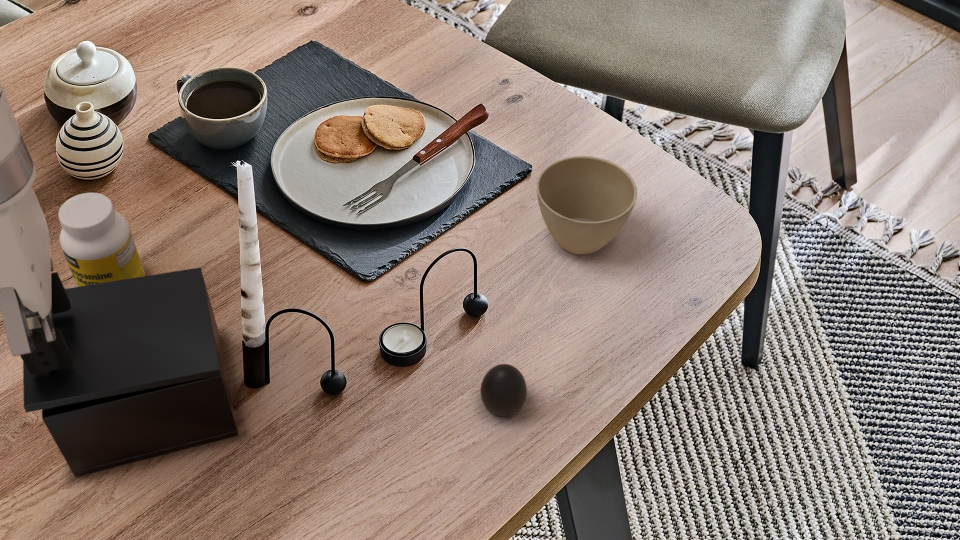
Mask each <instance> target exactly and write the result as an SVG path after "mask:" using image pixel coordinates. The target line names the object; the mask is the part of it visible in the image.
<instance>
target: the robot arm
mask: <svg viewBox="0 0 960 540" xmlns="http://www.w3.org/2000/svg"><path fill="white" fill-rule="evenodd" d="M36 176H37V167H36V164H35V161H34V159H33V157H32V154H31V152H30V149H29V147H28V145H27V142H26V139H25V138H24V135H23V133H22V130H21V128H20V125H19V123H18V121H17V118H16V116H15V113H14V111H13V108H12V106H11V104H10V101H9V98H8V97H7V95H6V91H5V89H4V86H3V84H2V81H0V315H1V320H2V322H3V327H4V330H5V334H6V338H7V342H8V347H9V350H10V354H11V355H12V357H19V356H20V358H21V361H22V363H23V362H24V364H25V365H26V367H27V369H28V371H29V373H31V374H39V373H44V372H49V371H53V370H57V369H62V368H67V367H71V366H72V365H73V357H72V355H71V353H70V350H69V348H68V346H67V344H66V342H65V340H64V338H63V335H62V333H61V331H60V329H54V327H53V324H52V322H51V319H50V316H49V312H50V310H51V302H52V314H56V313H61V312H66V311H68V310H69V309H70V308H71V302H70V300H69V297H68V295H67V293H66V291H65V289H66V288H65V285H64V283H63V282H62V280H61V277H60V275H59V272H58V271H56V272H54V271H55V267H54V262H53V259H52V257H51V238H50V232H49V227H48V222H47V219H46V215H45V214H44V211H43V209H42V207H41V203H40V201H39V199H38V197H37V195H36V192H35V190H34V188H33V185H34V182H35V180H36ZM35 316H37V317H38V319H39V322H40V325H41V327H39V328H34V329H30V330H29V328H28V324H27V320H26V318H30V317H35Z"/></svg>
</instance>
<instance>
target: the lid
mask: <svg viewBox="0 0 960 540" xmlns="http://www.w3.org/2000/svg"><path fill="white" fill-rule="evenodd" d="M203 277H204V274H203V270H202V267H193V268H188V269H182V270H181V269H180V270H175V271H174V270H173V271H169V272H162V273H157V274H150V275H146V276H143V277H136V278H130V279H124V280H118V281H111V282H105V283H99V284H92V285H86V286H80V287H78V286H74V287H68V288H65V291H66V293H67V295H68V297H69V300H70V302H71V308H70V309H69V310H68V311H66V312H61V313H56V314H52V302H51V310H50V312H49V316H50V319H51V322H52V324H53V327H54V329H60V331H61V333H62V335H63V338H64V340H65V342H66V344H67V346H68V348H69V350H70V353H71V355H72V357H73V365H72V366H71V367H67V368H62V369H57V370H53V371H49V372H44V373H39V374H31V373H29V371H28V369H27V367H26V365H25V364H24V362H23V361H22V383H23V384H22V385H23V386H22V388H23V389H22V390H23V392H22V393H23V400H22V401H23V409H24V411H25V413H30V412H36V411H42V409H47V408H52V407H57V406H62V405H68V404H73V403H78V402H83V401H88V400H94V399H99V398H104V397H109V396H114V395H120V394H125V393H130V392H135V391H140V390H146V389H151V388H156V387H161V386H167V385H172V384H177V383H182V382H187V381H193V380H198V379H203V378H208V377H213V376H219V375H221V373H220V367H219V362H218V356H217V351H216V345H215V340H214V335H213V329H212V324H211V318H210V313H209V307H208V302H207V296H206V291H205V286H204V281H205V279H204V280H203ZM26 320H27V324H28V328H29V330H30V329H34V328H39V327H41V325H40V322H39V319H38V317H37V316H35V317H30V318H26Z"/></svg>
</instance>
